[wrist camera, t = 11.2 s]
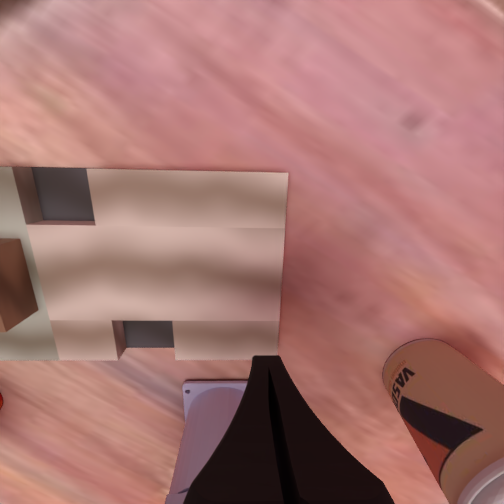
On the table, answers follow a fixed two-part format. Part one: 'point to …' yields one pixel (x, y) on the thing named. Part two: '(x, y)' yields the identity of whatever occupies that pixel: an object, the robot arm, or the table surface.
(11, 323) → the walnut block
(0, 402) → the paper cup
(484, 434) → the coffee cup
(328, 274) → the table surface
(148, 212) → the board
